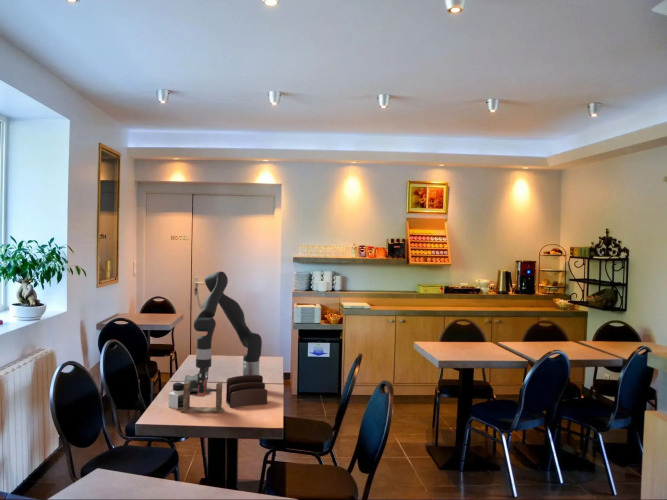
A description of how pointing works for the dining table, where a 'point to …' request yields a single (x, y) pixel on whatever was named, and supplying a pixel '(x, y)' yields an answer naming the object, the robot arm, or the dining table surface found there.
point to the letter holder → (246, 391)
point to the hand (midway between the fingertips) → (202, 391)
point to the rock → (192, 381)
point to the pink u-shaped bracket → (204, 389)
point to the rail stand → (189, 409)
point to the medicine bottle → (176, 396)
